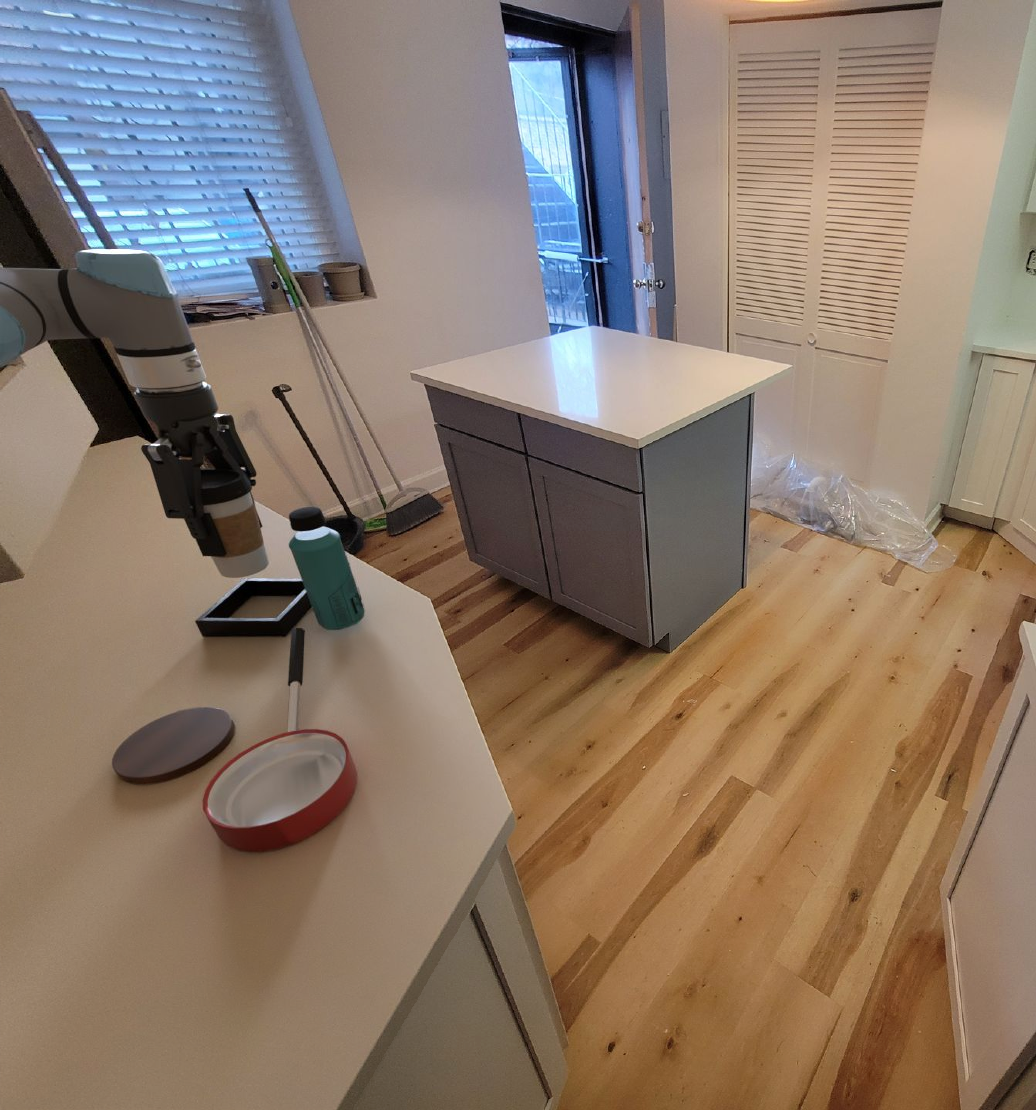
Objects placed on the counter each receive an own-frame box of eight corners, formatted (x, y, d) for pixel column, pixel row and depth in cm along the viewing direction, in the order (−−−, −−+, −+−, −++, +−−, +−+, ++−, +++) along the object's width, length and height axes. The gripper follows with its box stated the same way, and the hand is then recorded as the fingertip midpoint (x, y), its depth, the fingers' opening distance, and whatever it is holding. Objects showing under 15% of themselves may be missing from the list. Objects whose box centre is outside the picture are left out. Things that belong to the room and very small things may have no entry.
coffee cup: (222, 556, 93) (184, 465, 86) (286, 551, 96) (255, 462, 88) (198, 585, 86) (155, 489, 79) (268, 579, 89) (233, 485, 81)
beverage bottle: (366, 634, 93) (328, 518, 83) (315, 642, 91) (271, 524, 80) (371, 610, 98) (336, 498, 88) (323, 617, 96) (282, 503, 86)
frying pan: (231, 683, 82) (213, 646, 79) (342, 653, 89) (330, 618, 86) (213, 877, 60) (187, 837, 57) (364, 819, 66) (348, 780, 63)
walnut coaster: (89, 785, 68) (84, 778, 67) (162, 713, 77) (158, 707, 77) (195, 783, 69) (191, 776, 68) (254, 712, 78) (251, 706, 78)
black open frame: (202, 637, 90) (194, 621, 89) (250, 593, 100) (244, 578, 99) (285, 637, 91) (278, 621, 90) (324, 593, 101) (319, 578, 100)
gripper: (141, 410, 69) (214, 578, 80) (252, 367, 86) (299, 510, 98) (68, 407, 68) (153, 577, 80) (195, 364, 86) (250, 509, 97)
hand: (234, 540), depth 89 cm, fingers closed on coffee cup, 8 cm apart
